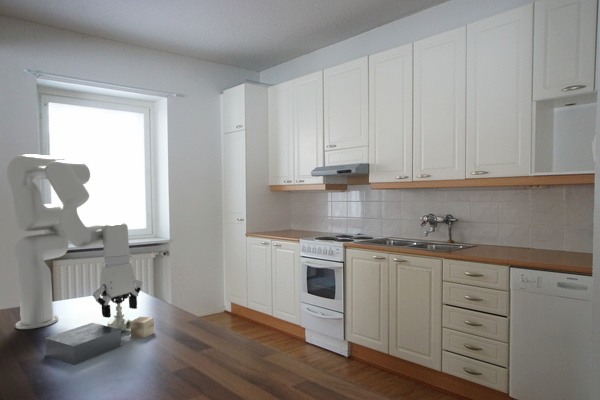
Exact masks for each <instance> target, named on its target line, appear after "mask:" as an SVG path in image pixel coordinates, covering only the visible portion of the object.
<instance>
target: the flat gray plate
mask: <svg viewBox="0 0 600 400" xmlns="http://www.w3.org/2000/svg"><path fill="white" fill-rule="evenodd" d="M121 332H122V331H121V329H117V328H113V327H109V326H107V325H104V324H100V323H96V322H95V323H94V322H90V323H88V324H83V325H80V326H78V327H74V328H71V329H68V330H66V331H62V332H60V333H56V334H52V335H49V336H47V337H46V336H45V337H44V343H45V344H44V345H45V356H46V357H50V358H53V359H55V360H59V361H61V362H64V363H67V364H70V365H74V366H75V365H77V364H81V363H83V362H85V361H87V360H90V359H93V358H96V357H97V356H98V357H99V356H100V355H102V354H105V353H108V352H110V351H113V350H116V349H117V348H120V347H122V333H121Z"/></svg>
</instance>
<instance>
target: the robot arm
mask: <svg viewBox="0 0 600 400" xmlns="http://www.w3.org/2000/svg"><path fill="white" fill-rule="evenodd" d="M6 178H7V182H8V184H9V187H10V190H11V194H12V195H11V196H12V202H13V211H14V220H15V225H16V226H17V228H18V229H19V230H20V231H22V232H37V231H44V232H45V233H40V234H31V235H30V234H29V235H26V236H23V237H20V238H18V240H16V241H15V243H14V244H13V245H14V246H13V254H14V255H13V256H14V258H15V261H16V265H17V272H18V273H17V274H18V290H19V291H18V292H19V309H20V310H19V311H20V313H19V316H20V320H19V321H17V322H16V323H15V328H16V329H18V330H33V329H37V328H43V327H48V326H49V325H50V326H51V325H52V324H55V323H57V322H58V321H59V316H58V315H56V314H54V312H53V311H54V310H53V308H54V307H53V306H54V305H53V290H52V289H53V288H52V286H53V285H52V273H51V270H50V267H49V266H48V265H47V263H46V262H45V261H47V260H52V259H53V260H54V259H57V258H60V257H62V256H64V255H66V253H67V252H68V250H69V242H70V243H71V244H72V245H73V247H76V248H78V249H87V248H93V247H98V246H103V258H104V266H102V267H101V273H100V284H99V285H100V286H99V288H98V289H97V290H96V291H94V292H93V293H92V297H93V298H94V299H95V302H97V303H98V304H99V306H101V314H102V317H103V318H108V319H109V318H111V315H112V313H111V305H110V304H109V303H110V302H111V298H114V297H118V296H121V295H125V294H128V293H129V297H128V303H129V304H128V307H129V309H132V310H133V309H134V310H136V309H138V299H137V298H138V297H139V293H140V291H141V288H142V286H143V281H141V280H138V279H136V278H135V272H134V268H133V265H132V262H131V259H133V255H132V254H130V244H129V243H130V242H129V229H128V225H127V224H126V223H125V222H115V223H108V222H96V223H87V224H85V223H83V222H82V220H81V218H80V217H79V214H78V208H79V207H81V206H82V205H84V204H85V203H87V202H88V200H89V198H90V193H89V192H88V190H87V189H86V187H85V184H86V183H88V182H89V181H90V179H91V171H90V169H89V167H88V166H87V165H86V164H85V163H84V162H82V161H77V160H73V159H69V158H65V157H61V156H51V155H43V154H32V153H31V154H19V155H16V156H13V158H11V159H10V161H9V162H8V164H7V167H6ZM34 180H47V181H49V184H50V185H51V187H52V189H53V190H54V192H55V194H56V195H57V197H58V199H59V200H60V202H61V204H62V207H60V206H59V205H57V204H56V203H55V204H54V203H43V195H42V191H41V188H40V187H39V186H38V185H37V183H36V182H34Z"/></svg>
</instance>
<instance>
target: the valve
mask: <svg viewBox="0 0 600 400" xmlns="http://www.w3.org/2000/svg"><path fill="white" fill-rule="evenodd" d="M129 296H130V295H129V293H128V294H125V295H121V296H118V297H114V298H111V300H110V302H112V303H115V304H116V306H115V313H114V315H113V317H114V318H110V319H109V321H108V322H107V325H106V326H109V327H113V328H117V329H121V332H130V322H131V321H132V320H130V319H124V317H125V313H124V312H123V311H122V310H123V307H122V306H123V305H121V304H122V303H123V302H124V301H126V300H127V299H129Z"/></svg>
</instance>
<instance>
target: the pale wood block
mask: <svg viewBox="0 0 600 400" xmlns="http://www.w3.org/2000/svg"><path fill="white" fill-rule="evenodd" d="M154 319H155V318H154V317H151V316H148V317H147V316H139V317H137V318H135V319H133V320H131V322H130V330H129V332H130V338H134V339H135V338H136V339H146V338H148V337H149V336H151V335H153V334H154V333H155V321H154Z"/></svg>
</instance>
